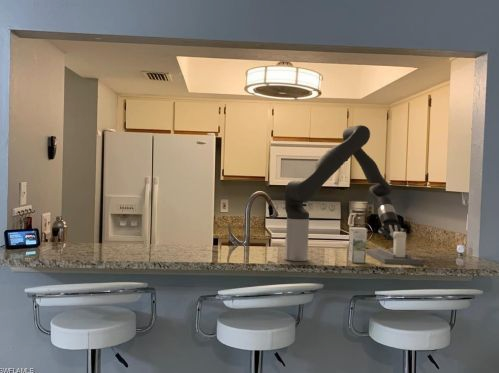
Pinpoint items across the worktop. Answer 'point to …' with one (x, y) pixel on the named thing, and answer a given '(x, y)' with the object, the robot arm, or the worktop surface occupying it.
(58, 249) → the worktop surface
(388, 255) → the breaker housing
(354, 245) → the syrup box
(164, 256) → the worktop surface
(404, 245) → the handle
